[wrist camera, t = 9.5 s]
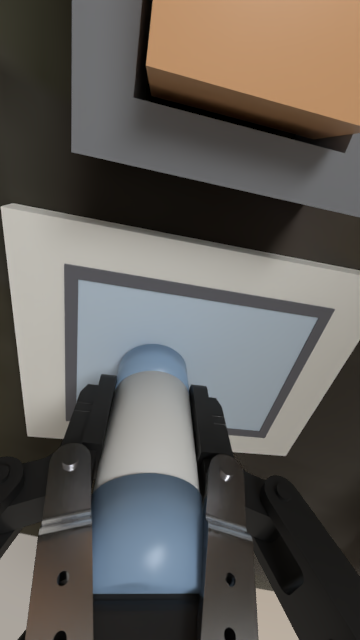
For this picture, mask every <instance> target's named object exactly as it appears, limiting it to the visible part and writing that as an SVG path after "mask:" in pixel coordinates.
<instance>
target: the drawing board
mask: <svg viewBox="0 0 360 640" xmlns="http://www.w3.org/2000/svg"><path fill="white" fill-rule="evenodd" d="M1 213H2V222H3V231H4V239H5V248H6V256H7V265H8V274H9V282H10V291H11V299H12V308H13V317H14V325H15V334H16V342H17V351H18V359H19V368H20V377H21V385H22V394H23V402H24V411H25V420H26V428H27V436H30V437H43V438H57V439H64V436H65V433H66V430H67V428H68V425H69V422H70V419H71V416H72V414H73V411H74V408H75V405H76V403H77V400H78V397H79V394H80V392H81V391H82V390H83V389H84V387H85V386H86V385H87V384H93V385H98V384H99V380H100V377H101V374H107V375H116V376H117V374H118V369H119V364H120V362H121V360H122V358H123V357H124V355H125V354H126V353H127V352H129V351H130V350H132V349H133V348H135V347H138V346H141V345H146V344H159V345H164V346H167V347H170V348H172V349H174V350H175V351H177V352H178V353H179V354H180V355H181V356H182V358H183V359H184V361H185V363H186V368H187V376H188V385H189V389H190V386H191V384H193V385H202V386H206V387H207V390H208V395H209V397H212V398H216V399H217V400H218V402H219V403H220V405H221V406H222V410H223V414H224V418H225V422H226V427H227V431H228V435H229V439H230V444H231V448H232V452H239V453H253V454H266V455H279V456H286V455H287V453H288V452H289V450H290V448H291V447H292V445H293V444H294V442H295V441H296V439H297V437H298V436H299V434H300V433H301V431H302V430H303V428H304V426H305V425H306V423H307V422H308V420H309V419H310V417H311V415H312V414H313V412H314V411H315V409H316V408H317V406H318V404H319V403H320V401H321V400H322V398H323V397H324V395H325V393H326V392H327V390H328V389H329V387H330V386H331V384H332V382H333V381H334V379H335V378H336V376H337V375H338V373H339V371H340V370H341V368H342V367H343V365H344V364H345V362H346V361H347V359H348V357H349V356H350V354H351V353H352V351H353V350H354V348H355V346H356V345H357V343H358V342H359V340H360V270H355V269H350V268H345V267H340V266H334V265H329V264H324V263H319V262H314V261H309V260H303V259H298V258H293V257H288V256H283V255H278V254H272V253H267V252H262V251H257V250H252V249H247V248H241V247H236V246H231V245H226V244H221V243H216V242H210V241H205V240H200V239H195V238H190V237H185V236H180V235H174V234H169V233H164V232H159V231H154V230H149V229H143V228H138V227H133V226H128V225H123V224H118V223H112V222H107V221H102V220H97V219H92V218H87V217H81V216H76V215H71V214H66V213H61V212H56V211H50V210H45V209H40V208H35V207H30V206H25V205H20V204H14V203H12V204H8V205H5V206H1Z"/></svg>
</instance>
